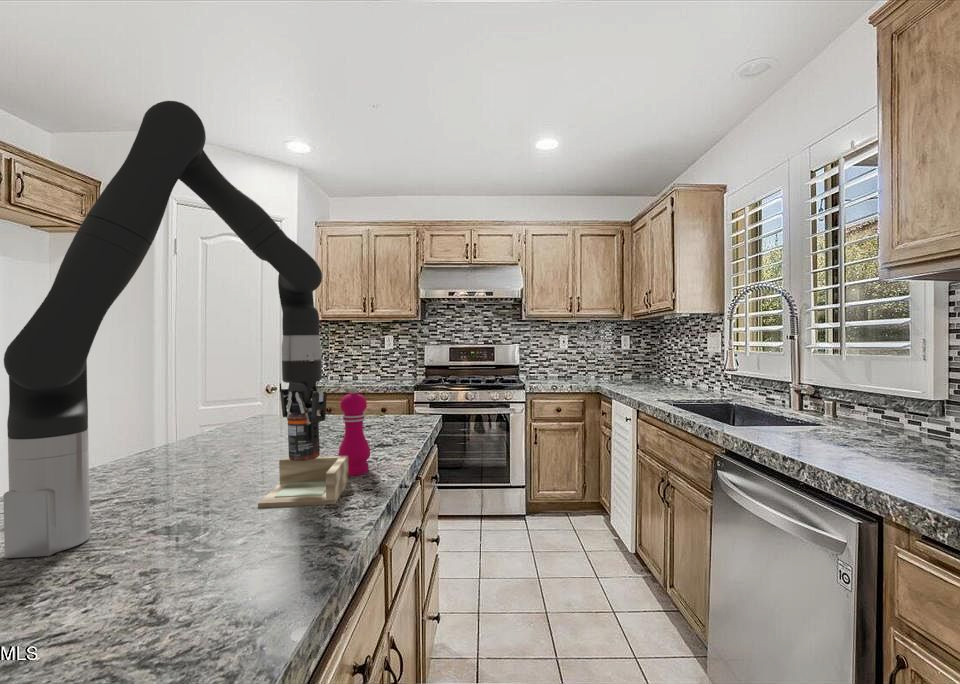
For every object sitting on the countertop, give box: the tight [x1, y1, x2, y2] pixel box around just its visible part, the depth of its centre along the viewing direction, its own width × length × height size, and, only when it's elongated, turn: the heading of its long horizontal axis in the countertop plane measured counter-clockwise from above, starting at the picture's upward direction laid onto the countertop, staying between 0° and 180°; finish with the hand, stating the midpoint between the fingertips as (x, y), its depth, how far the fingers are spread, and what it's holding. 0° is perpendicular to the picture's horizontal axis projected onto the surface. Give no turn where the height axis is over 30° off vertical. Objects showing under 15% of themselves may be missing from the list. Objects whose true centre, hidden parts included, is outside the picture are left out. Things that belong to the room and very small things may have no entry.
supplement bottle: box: [287, 403, 321, 461], centre depth 98 cm, size 6×6×11 cm
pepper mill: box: [337, 386, 371, 477], centre depth 113 cm, size 7×7×20 cm
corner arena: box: [257, 455, 350, 509], centre depth 97 cm, size 14×14×6 cm
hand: (303, 440), depth 97 cm, fingers closed on supplement bottle, 6 cm apart
